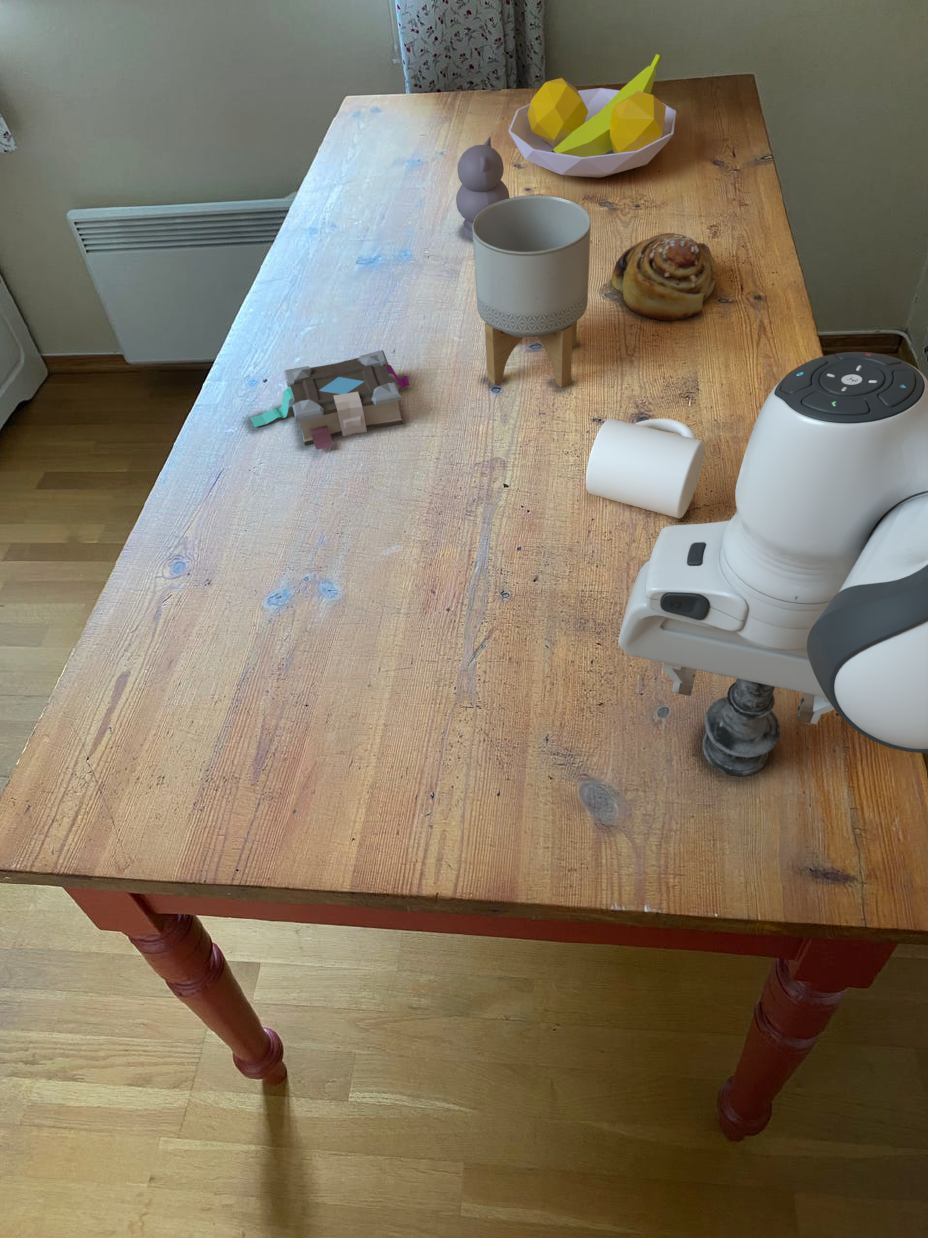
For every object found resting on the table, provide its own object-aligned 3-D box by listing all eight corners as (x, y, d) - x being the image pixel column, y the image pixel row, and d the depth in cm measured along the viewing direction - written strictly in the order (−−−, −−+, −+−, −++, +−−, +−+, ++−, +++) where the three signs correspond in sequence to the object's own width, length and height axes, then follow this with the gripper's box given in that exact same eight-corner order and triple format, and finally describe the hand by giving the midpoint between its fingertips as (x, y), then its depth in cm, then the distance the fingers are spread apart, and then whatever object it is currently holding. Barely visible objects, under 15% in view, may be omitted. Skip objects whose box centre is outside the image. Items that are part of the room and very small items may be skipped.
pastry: (653, 330, 114) (659, 271, 107) (594, 277, 123) (597, 220, 116) (740, 301, 116) (751, 243, 110) (677, 252, 125) (684, 195, 119)
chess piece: (775, 728, 75) (808, 640, 66) (766, 787, 71) (800, 703, 62) (705, 711, 76) (727, 623, 67) (693, 769, 73) (714, 684, 64)
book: (259, 467, 101) (248, 432, 97) (247, 405, 109) (237, 371, 105) (428, 429, 104) (423, 393, 100) (404, 371, 111) (400, 336, 108)
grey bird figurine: (460, 217, 136) (454, 134, 127) (512, 215, 135) (509, 132, 126) (455, 245, 131) (449, 160, 122) (509, 244, 130) (506, 159, 121)
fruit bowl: (561, 212, 135) (562, 133, 127) (484, 148, 152) (481, 74, 143) (716, 166, 141) (728, 88, 133) (627, 109, 158) (632, 36, 149)
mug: (675, 534, 90) (685, 474, 84) (583, 508, 94) (586, 448, 87) (710, 462, 97) (721, 402, 91) (623, 440, 100) (628, 380, 94)
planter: (540, 321, 117) (540, 183, 103) (606, 364, 109) (615, 223, 96) (460, 359, 112) (449, 221, 99) (524, 407, 105) (521, 265, 92)
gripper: (953, 578, 58) (886, 698, 69) (640, 522, 63) (623, 643, 73) (955, 652, 54) (884, 768, 65) (622, 587, 59) (607, 704, 70)
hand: (743, 701), depth 69 cm, fingers open, 8 cm apart
